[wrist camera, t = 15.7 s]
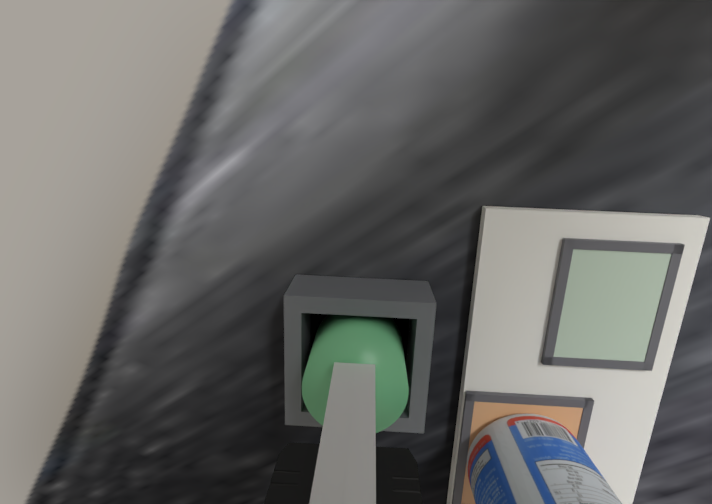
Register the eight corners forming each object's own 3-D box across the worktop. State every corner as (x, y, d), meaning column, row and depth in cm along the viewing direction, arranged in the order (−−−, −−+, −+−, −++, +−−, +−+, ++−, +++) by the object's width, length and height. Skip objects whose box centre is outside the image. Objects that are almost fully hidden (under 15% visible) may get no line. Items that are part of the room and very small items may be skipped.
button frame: (295, 274, 19) (283, 295, 16) (428, 281, 19) (436, 303, 16) (295, 389, 20) (284, 424, 18) (417, 396, 20) (424, 433, 18)
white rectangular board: (482, 205, 18) (487, 209, 17) (698, 215, 17) (714, 219, 17) (444, 520, 22) (446, 534, 21) (615, 532, 22) (624, 547, 21)
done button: (315, 301, 18) (301, 339, 15) (405, 306, 18) (412, 345, 15) (314, 380, 20) (301, 432, 16) (399, 385, 19) (405, 439, 16)
